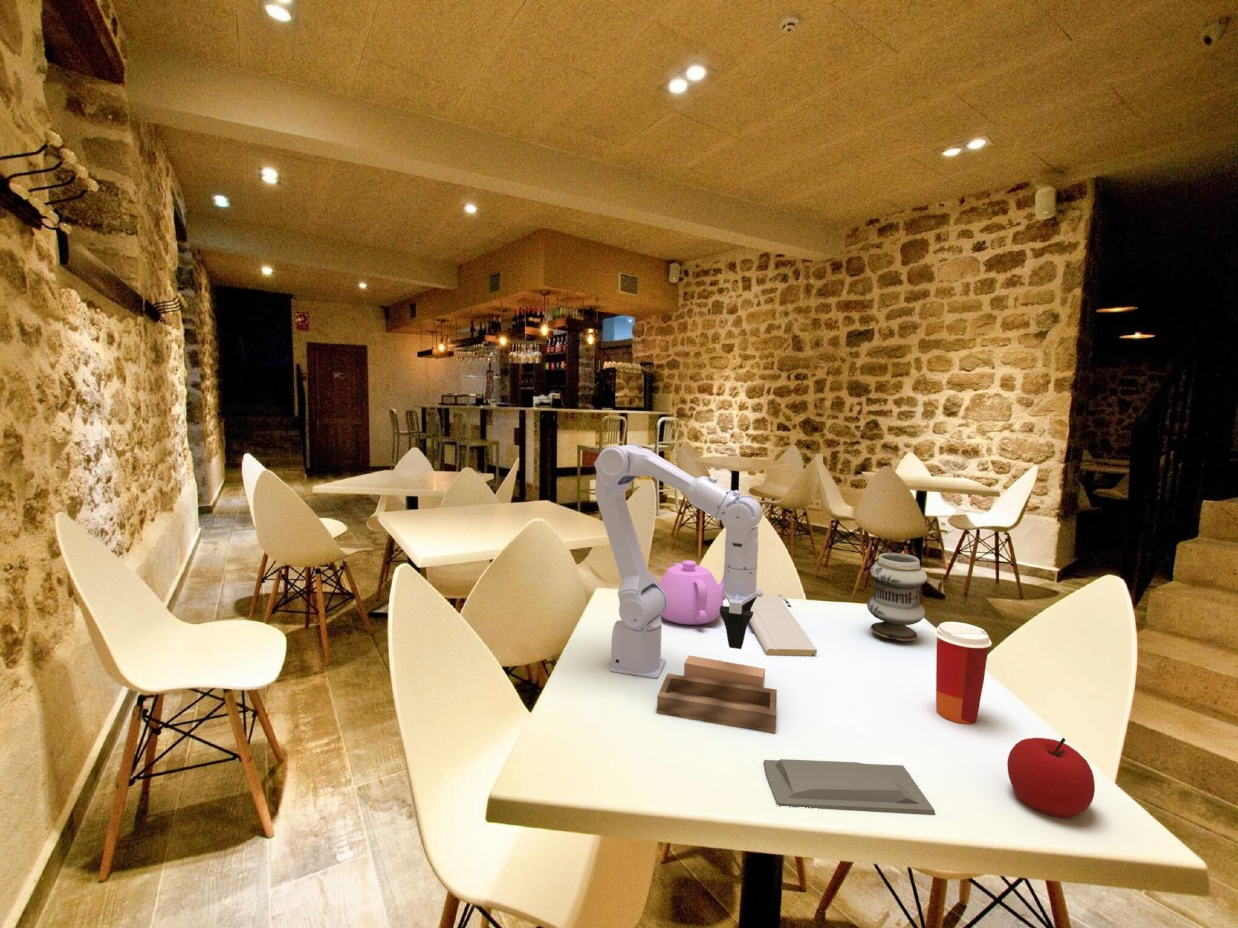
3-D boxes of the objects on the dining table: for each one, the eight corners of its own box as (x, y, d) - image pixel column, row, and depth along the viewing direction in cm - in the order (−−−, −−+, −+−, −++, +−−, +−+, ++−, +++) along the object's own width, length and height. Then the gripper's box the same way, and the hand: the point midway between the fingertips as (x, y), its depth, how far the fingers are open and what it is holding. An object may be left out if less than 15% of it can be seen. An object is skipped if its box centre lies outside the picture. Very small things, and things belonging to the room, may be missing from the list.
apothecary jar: (866, 637, 130) (871, 559, 128) (865, 619, 141) (870, 548, 139) (925, 646, 125) (932, 566, 123) (920, 627, 136) (925, 553, 134)
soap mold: (938, 828, 71) (940, 802, 71) (776, 821, 72) (778, 795, 72) (901, 776, 81) (902, 753, 81) (760, 770, 82) (761, 747, 82)
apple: (1046, 781, 80) (1053, 713, 79) (1111, 828, 71) (1120, 752, 70) (988, 787, 78) (994, 718, 77) (1047, 835, 70) (1055, 758, 69)
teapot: (757, 629, 133) (759, 571, 132) (668, 636, 128) (670, 576, 127) (719, 598, 154) (721, 548, 153) (642, 603, 149) (643, 551, 148)
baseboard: (824, 649, 119) (766, 648, 119) (823, 662, 119) (765, 661, 119) (783, 594, 149) (737, 593, 150) (782, 605, 150) (737, 603, 150)
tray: (656, 716, 95) (657, 696, 94) (667, 691, 103) (667, 672, 103) (775, 736, 89) (776, 715, 89) (775, 708, 98) (776, 688, 98)
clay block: (683, 689, 105) (684, 662, 104) (688, 680, 108) (688, 655, 107) (761, 704, 100) (762, 677, 99) (763, 695, 103) (765, 668, 102)
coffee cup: (977, 707, 100) (984, 624, 98) (990, 732, 92) (999, 642, 90) (923, 698, 102) (930, 617, 101) (932, 721, 95) (939, 634, 93)
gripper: (761, 579, 93) (757, 659, 94) (765, 557, 107) (762, 627, 108) (717, 574, 95) (715, 652, 96) (727, 553, 109) (725, 622, 110)
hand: (737, 639), depth 102 cm, fingers open, 7 cm apart
